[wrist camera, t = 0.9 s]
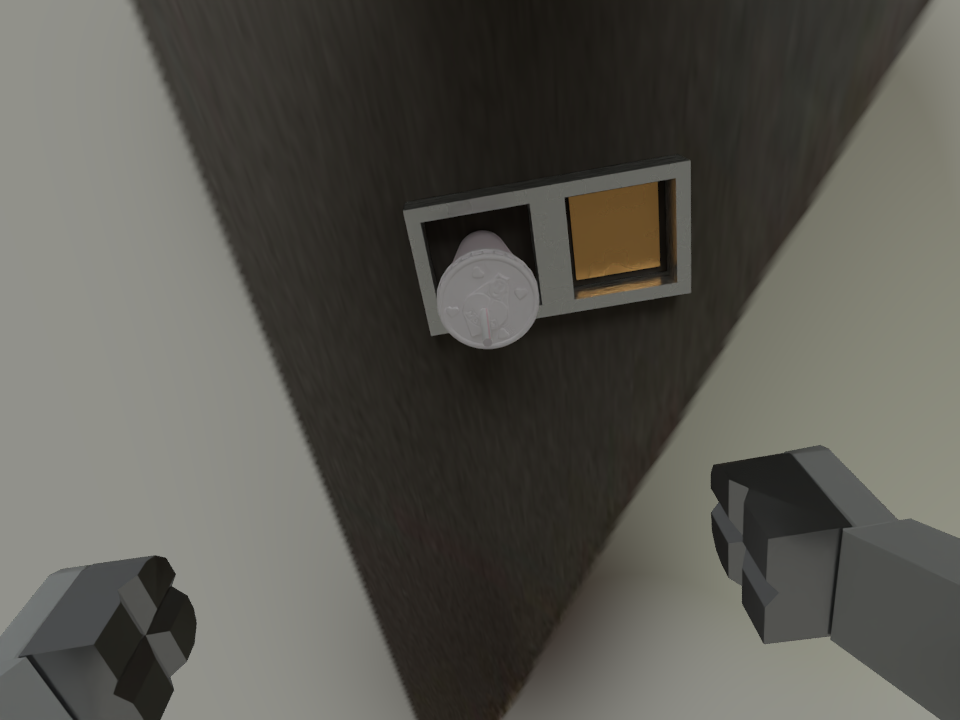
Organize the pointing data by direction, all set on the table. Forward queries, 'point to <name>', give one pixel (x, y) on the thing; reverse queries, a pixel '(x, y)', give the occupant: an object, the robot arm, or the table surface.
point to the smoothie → (487, 293)
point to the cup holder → (581, 233)
